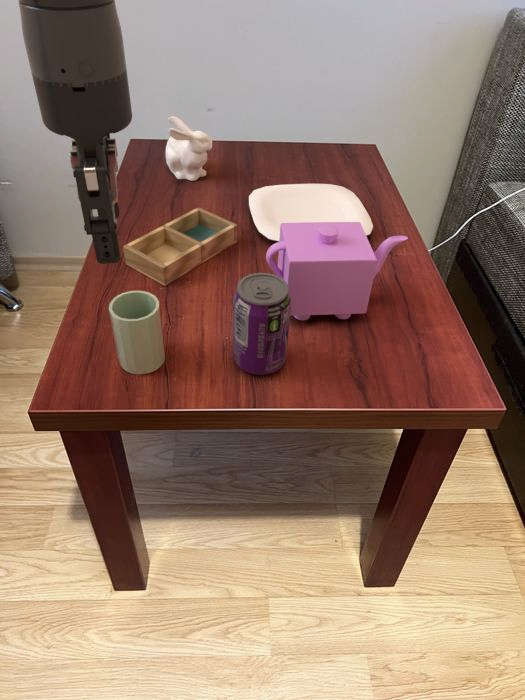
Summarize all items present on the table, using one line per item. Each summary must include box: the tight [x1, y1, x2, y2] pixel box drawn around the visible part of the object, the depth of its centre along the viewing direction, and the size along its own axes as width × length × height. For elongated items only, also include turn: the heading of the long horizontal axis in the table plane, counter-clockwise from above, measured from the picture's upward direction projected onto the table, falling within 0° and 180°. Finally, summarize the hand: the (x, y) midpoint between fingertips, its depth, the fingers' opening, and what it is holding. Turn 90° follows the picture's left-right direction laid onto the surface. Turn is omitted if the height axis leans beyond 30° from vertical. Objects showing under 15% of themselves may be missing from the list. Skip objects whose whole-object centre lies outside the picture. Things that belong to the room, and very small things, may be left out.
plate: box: [248, 183, 374, 243], centre depth 101 cm, size 22×22×2 cm
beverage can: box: [232, 272, 291, 375], centre depth 69 cm, size 7×7×12 cm
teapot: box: [265, 222, 409, 321], centre depth 79 cm, size 20×10×12 cm, turn 95°
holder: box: [122, 207, 238, 287], centre depth 90 cm, size 17×9×3 cm, turn 142°
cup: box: [108, 290, 166, 375], centre depth 69 cm, size 6×6×9 cm
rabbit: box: [165, 115, 213, 182], centre depth 109 cm, size 12×9×12 cm
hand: (109, 238), depth 55 cm, fingers open, 8 cm apart
